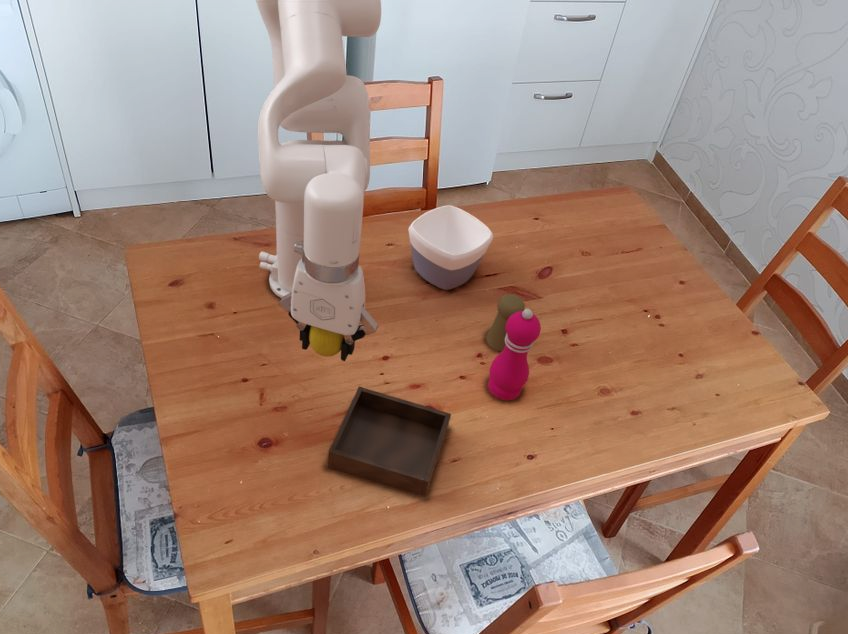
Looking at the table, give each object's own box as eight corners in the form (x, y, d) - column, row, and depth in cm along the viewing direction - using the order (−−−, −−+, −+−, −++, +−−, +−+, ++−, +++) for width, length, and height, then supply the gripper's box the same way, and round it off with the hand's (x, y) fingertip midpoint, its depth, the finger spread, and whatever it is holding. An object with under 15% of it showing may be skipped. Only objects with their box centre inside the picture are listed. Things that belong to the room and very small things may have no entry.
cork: (513, 355, 143) (526, 314, 135) (483, 347, 143) (494, 306, 135) (518, 334, 147) (530, 294, 139) (489, 326, 147) (499, 286, 139)
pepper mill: (497, 407, 133) (521, 329, 118) (478, 378, 137) (499, 300, 123) (530, 396, 136) (557, 320, 121) (510, 369, 140) (535, 292, 126)
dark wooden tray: (327, 467, 118) (328, 451, 115) (357, 402, 129) (358, 386, 126) (425, 496, 117) (428, 482, 114) (447, 429, 128) (451, 413, 124)
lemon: (350, 347, 116) (353, 312, 110) (335, 371, 112) (337, 335, 106) (318, 336, 116) (319, 299, 111) (302, 359, 113) (302, 322, 107)
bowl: (493, 274, 159) (503, 234, 151) (446, 305, 150) (454, 263, 142) (441, 239, 165) (449, 198, 157) (393, 266, 156) (398, 224, 148)
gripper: (260, 259, 98) (264, 350, 111) (382, 294, 97) (372, 381, 110) (282, 227, 103) (284, 318, 116) (398, 260, 102) (386, 347, 115)
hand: (326, 348), depth 113 cm, fingers closed on lemon, 5 cm apart
